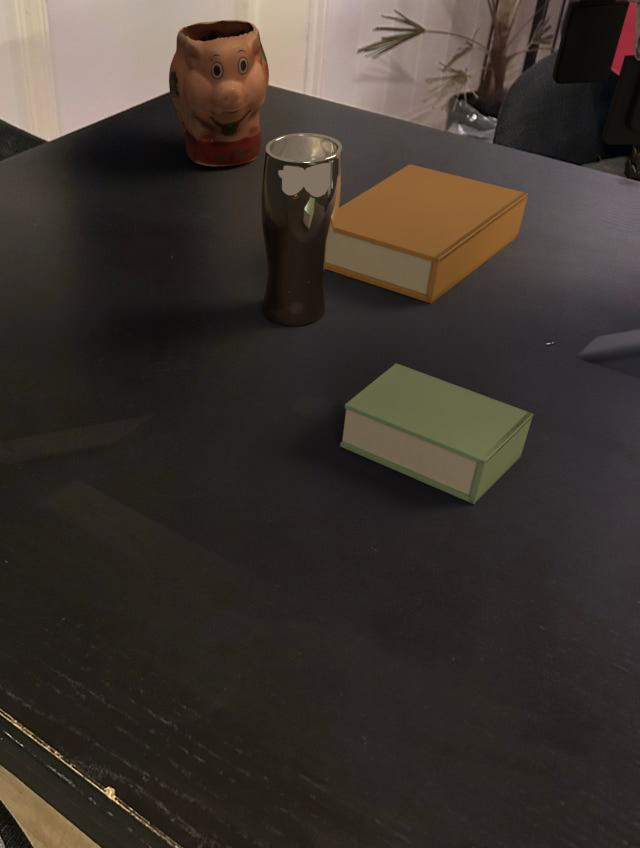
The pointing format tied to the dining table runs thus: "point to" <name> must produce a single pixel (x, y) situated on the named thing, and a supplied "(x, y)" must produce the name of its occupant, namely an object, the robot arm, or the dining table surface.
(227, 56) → the decorative planter
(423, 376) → the small book
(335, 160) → the beer glass
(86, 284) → the dining table surface
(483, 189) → the big book
